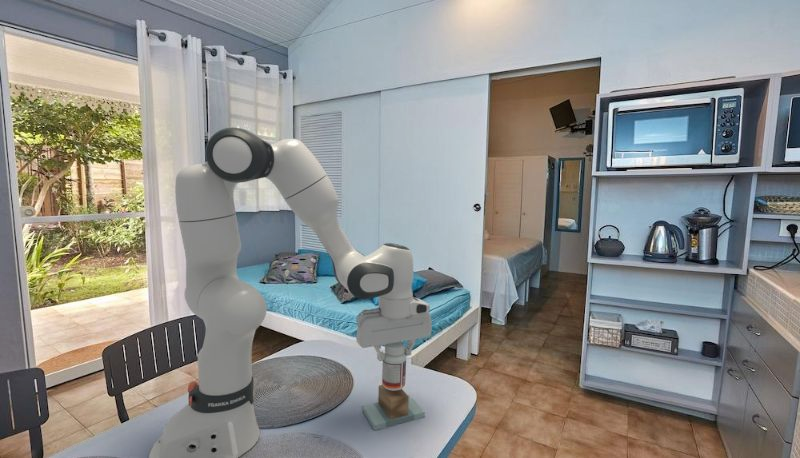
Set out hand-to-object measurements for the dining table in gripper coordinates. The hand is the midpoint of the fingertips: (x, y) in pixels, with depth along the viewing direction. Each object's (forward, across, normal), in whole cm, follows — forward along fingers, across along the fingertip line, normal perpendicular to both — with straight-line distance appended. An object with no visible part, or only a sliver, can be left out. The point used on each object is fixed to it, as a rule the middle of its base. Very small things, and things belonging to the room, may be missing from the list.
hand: (394, 357), depth 97 cm
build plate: (+16, 0, 0) cm, 16 cm away
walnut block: (+14, 0, 0) cm, 14 cm away
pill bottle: (+8, 0, 0) cm, 8 cm away
